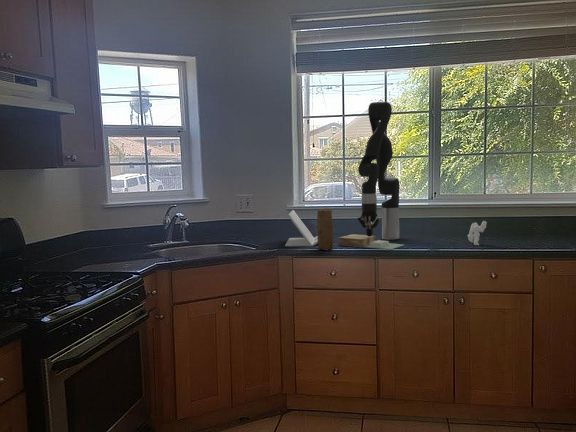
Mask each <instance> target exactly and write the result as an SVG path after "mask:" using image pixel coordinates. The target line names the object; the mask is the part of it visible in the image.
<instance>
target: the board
mask: <svg viewBox="0 0 576 432" xmlns="http://www.w3.org/2000/svg"><path fill="white" fill-rule="evenodd" d="M376 237H377V236H376V235H372V236H367V234H356V233H353V234H348V235H344V236H339V237H338V238H337V239H338V240H337V241H338V246H342V247H352V248H353V247H354V248H364V247H363V246H366V245H369V243H370V242H374V241H377V239H376Z"/></svg>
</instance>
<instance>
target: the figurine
mask: <svg viewBox="0 0 576 432" xmlns="http://www.w3.org/2000/svg"><path fill="white" fill-rule="evenodd" d="M487 223H488V222H487V221H486V220H483V221H482V222H481V224H480V225H479V224H478V222H473V223H471V225H470V229H469V231H468V232H469V233H468V234H467V238H468V241H469V242H470V243H473V245H475V246H480V243H479V241H480V233H483V232H484V231H485V229H486V228H487Z"/></svg>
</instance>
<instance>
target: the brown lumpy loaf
mask: <svg viewBox="0 0 576 432" xmlns="http://www.w3.org/2000/svg"><path fill="white" fill-rule="evenodd" d="M332 213H333V211H332V209H331V208H319V209H318V210H317V214H316V215H317V217H316V219H317V220H316V222H317V223H316V224H317V225H316V230H317V232H316V234H317V235H316V236H317V237H318V243H317V246H318V250H320V251H322V250H323V251H328V250H329V251H330V250H332V249H333V248H334V238H333V237H334V236H333V235H334V230H333V228H334V227H333V214H332Z"/></svg>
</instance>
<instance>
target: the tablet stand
mask: <svg viewBox="0 0 576 432" xmlns="http://www.w3.org/2000/svg"><path fill="white" fill-rule="evenodd" d="M287 216H288V218H289V219H290V221H291V222H292V223H293V225H294V226H295V227H296V229H297V230H298V231H299V233H300V234H301V235H302V237H289V238H288V240H287V241H286V243H285V245H284V246H285V247H315V246H316V245H318V237H317V235H316V236H315V237H314V236H313V234H312V233H311V231H310V230H309V229H308V227H307V226H306V225H305V224H304V222H303V221H302V220H301V218H300V217H299V216H298V213H296V211H295V210H294V209H292V210H291V211H290V212H289V213H288V214H287Z"/></svg>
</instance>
